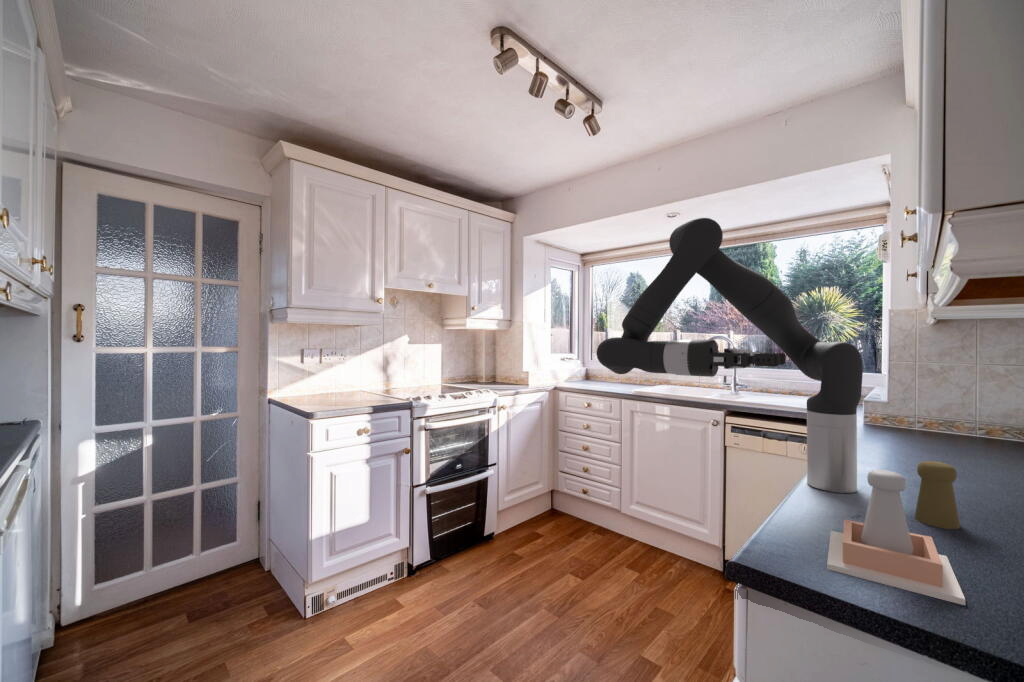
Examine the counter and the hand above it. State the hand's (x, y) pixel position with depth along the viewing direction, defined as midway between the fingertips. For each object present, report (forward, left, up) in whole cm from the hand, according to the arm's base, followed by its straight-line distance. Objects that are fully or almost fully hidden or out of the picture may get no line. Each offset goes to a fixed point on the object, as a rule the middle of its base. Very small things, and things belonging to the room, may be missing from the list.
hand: (782, 359), depth 79 cm
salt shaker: (+8, +14, -29) cm, 34 cm away
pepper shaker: (-18, +22, -30) cm, 42 cm away
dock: (+8, +14, -30) cm, 34 cm away
